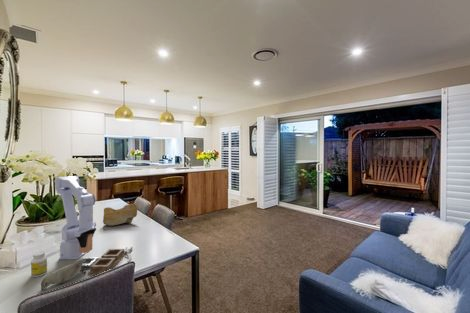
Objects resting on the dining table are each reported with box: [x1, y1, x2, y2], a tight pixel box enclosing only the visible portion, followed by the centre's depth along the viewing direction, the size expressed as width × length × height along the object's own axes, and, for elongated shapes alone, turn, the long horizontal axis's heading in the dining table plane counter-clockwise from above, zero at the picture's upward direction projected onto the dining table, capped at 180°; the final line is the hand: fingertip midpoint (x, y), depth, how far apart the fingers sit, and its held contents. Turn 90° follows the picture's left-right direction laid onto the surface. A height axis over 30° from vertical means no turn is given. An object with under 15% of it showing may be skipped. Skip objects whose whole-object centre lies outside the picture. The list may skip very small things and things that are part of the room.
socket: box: [76, 256, 99, 270], centre depth 111 cm, size 8×8×2 cm
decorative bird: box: [40, 258, 88, 291], centre depth 96 cm, size 5×16×7 cm, turn 143°
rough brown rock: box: [102, 203, 138, 227], centre depth 172 cm, size 23×17×15 cm
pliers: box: [123, 246, 133, 263], centre depth 120 cm, size 10×2×15 cm
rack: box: [87, 248, 126, 275], centre depth 112 cm, size 9×20×3 cm, turn 5°
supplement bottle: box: [30, 250, 48, 278], centre depth 101 cm, size 5×5×10 cm
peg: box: [79, 234, 93, 254], centre depth 110 cm, size 4×4×8 cm
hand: (85, 245), depth 110 cm, fingers closed on peg, 4 cm apart
